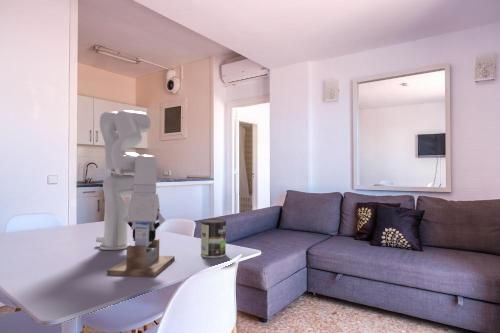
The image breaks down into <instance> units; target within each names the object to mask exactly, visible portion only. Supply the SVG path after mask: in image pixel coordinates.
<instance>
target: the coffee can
mask: <svg viewBox="0 0 500 333" xmlns="http://www.w3.org/2000/svg"><path fill="white" fill-rule="evenodd" d="M200 224H201V225H200V226H201V229H200V230H201V235H200V236H201V237H200V238H201V240H200V256H201V257H202V258H208V259H219V258H223V257H225V256H226V244H227V243H226V239H227V236H226V235H227V220H226V219H220V218H218V219H217V218H206V219H201V220H200Z"/></svg>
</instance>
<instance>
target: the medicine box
mask: <svg viewBox="0 0 500 333" xmlns="http://www.w3.org/2000/svg"><path fill="white" fill-rule="evenodd" d="M150 230H151V228H150V223H149V222H136V223H135V241H134V246H147V247H148V246H149V245H150V244H151V243H152V242H150V241H149V231H150Z"/></svg>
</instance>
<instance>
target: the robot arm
mask: <svg viewBox="0 0 500 333" xmlns="http://www.w3.org/2000/svg"><path fill="white" fill-rule="evenodd" d="M151 124H152V122H151V118H150V115H149V114H148V113H147V112H144V111H143V112H142V111H136V110H135V111H134V110H129V109H123V110H118V111H105V112H103V113H101V114H100V117H99V130H100V133H101V136H102V139H103V141H104V150H105V151H104V154H105V158H104V159H105V168H106V170H107V171H108V172H109V173H111V174H118V175H110V176H109V175H108V176H107V177H106V178H104V179H103V182H102V191H103V195H104V196H103V198H104V215H103V216H104V221H103V222H104V224H103V227H104V228H103V232H104V233H103V236H100V237H99V236H97V237H96V239H95V242H96V243H101V244H100V245H99V249H100V250H104V251H119V250H125V249H126V250H127V247H128V246H132V245H131V244H132V243H131V242H129V241H128V226H129V227H130V228H131V230H132V239H133V242H135V223H136V222H149V223H150V228H151V230H150V231H149V241H150V242H152V241H154V239H156V234H157V232H156V230H157V229H158V228H159V227H160V226H161V225H162V224H163V223H165V222H166V219H165V218H164V216H163V215H162V214H161V208H160V198H159V194H158V193H157V168H158V165H157V164H158V163H157V162H158V161H157V156H155V155H152V154H139V153H137V152H127V150H129V149H132V148H135V147H136V146H138V145H139V144H140V143H141V142H142V140H143V139H142V138H143V136H142V134H141V133H147V132H148V131H149V130H150V129H151ZM126 197H127V198H128V197H129V204H128V203H127V202H126V201H125V200H124V199H123V198H126ZM127 204H128V205H127ZM156 221H157V222H156Z"/></svg>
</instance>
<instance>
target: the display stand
mask: <svg viewBox="0 0 500 333" xmlns="http://www.w3.org/2000/svg"><path fill="white" fill-rule="evenodd" d="M125 258H126V259H124V260H122V261H121V262H119V263H117V264H115V265H113V266H112V267H110V268H109V269H107V271H106V276H107V275H108V276H125V277H126V276H128V277H129V276H130V277H146V278H147V277H148V278H151V277H152V278H155V277H156V276H157V275H159V274H160V273H161V272H162V271H163V270H165V269H166V268H167V267H168V266H169V265H170V264H172V263H173V262H174V261H175V260H176V258H175V255H160V238H155V239H154V241H152V243H151V244H150V245H149V246H148V247H147V246H135V245H131V246H128V247H127V248H126V257H125Z"/></svg>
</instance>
